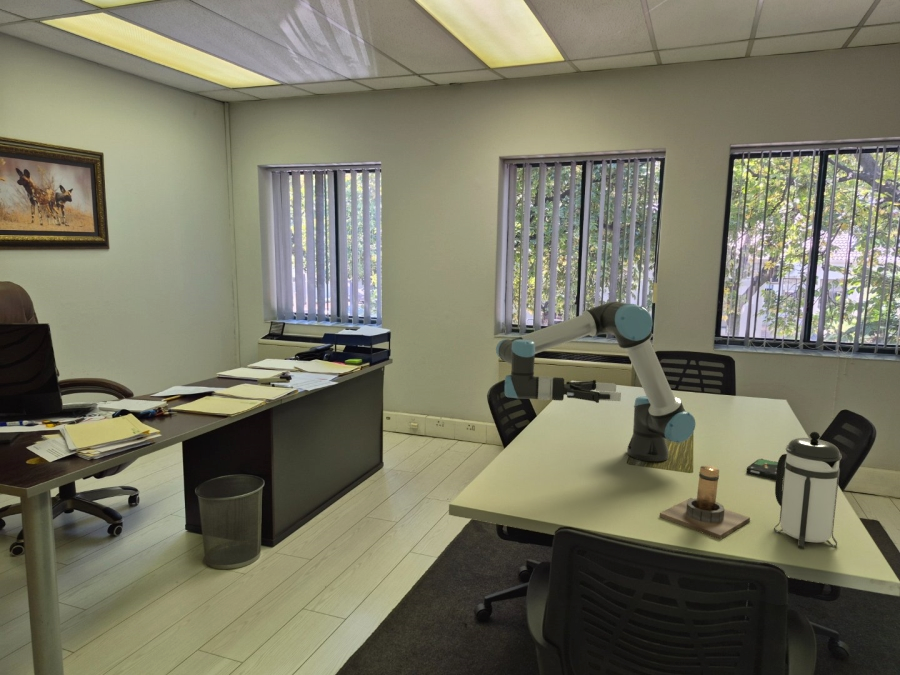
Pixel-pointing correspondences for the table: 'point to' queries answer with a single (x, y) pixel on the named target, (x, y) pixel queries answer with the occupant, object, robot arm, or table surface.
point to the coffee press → (808, 489)
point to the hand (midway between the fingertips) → (618, 392)
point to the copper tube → (707, 488)
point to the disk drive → (763, 469)
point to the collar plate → (705, 526)
